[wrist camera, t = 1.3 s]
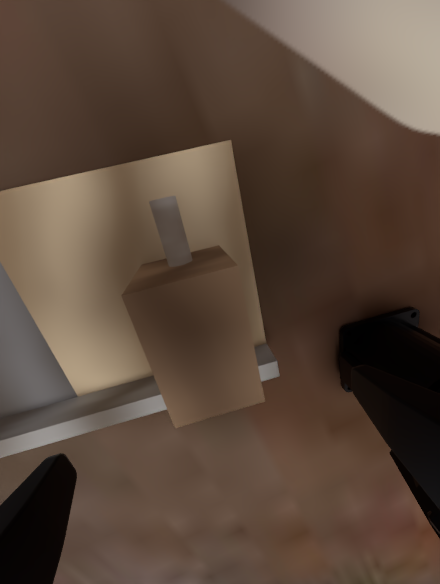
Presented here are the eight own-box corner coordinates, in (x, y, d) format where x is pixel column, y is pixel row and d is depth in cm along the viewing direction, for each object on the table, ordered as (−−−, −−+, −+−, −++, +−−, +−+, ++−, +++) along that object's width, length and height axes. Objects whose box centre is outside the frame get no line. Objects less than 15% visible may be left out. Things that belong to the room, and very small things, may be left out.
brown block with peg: (206, 189, 13) (221, 181, 8) (240, 345, 16) (265, 401, 12) (122, 209, 12) (87, 212, 8) (176, 363, 16) (174, 428, 11)
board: (225, 146, 13) (239, 127, 10) (262, 350, 19) (280, 380, 15) (-175, 236, 12) (-306, 247, 9) (-16, 429, 17) (-62, 481, 14)
